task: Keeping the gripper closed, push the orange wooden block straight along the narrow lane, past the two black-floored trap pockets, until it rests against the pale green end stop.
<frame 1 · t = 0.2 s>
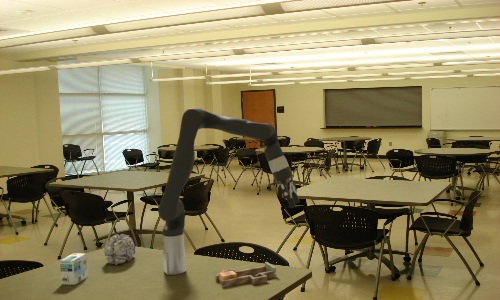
hand: (295, 205, 191), 31 cm above the table, tool tilted 20°, fingers open, 8 cm apart
block: (228, 282, 194), resting in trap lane
light bulb box: (75, 281, 205), on the table
educational model: (121, 262, 229), on the table
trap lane: (245, 278, 197), on the table
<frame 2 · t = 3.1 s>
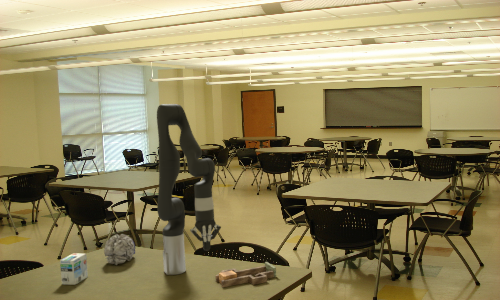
hand: (206, 250, 189), 15 cm above the table, tool pointing down, fingers closed
nothing on the table moved.
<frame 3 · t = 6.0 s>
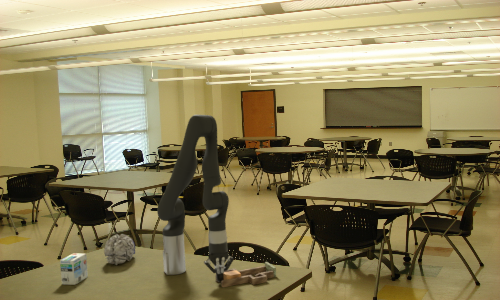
hand: (220, 281, 192), 1 cm above the table, tool pointing down, fingers closed
block: (232, 282, 194), resting in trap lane
everything else where it was.
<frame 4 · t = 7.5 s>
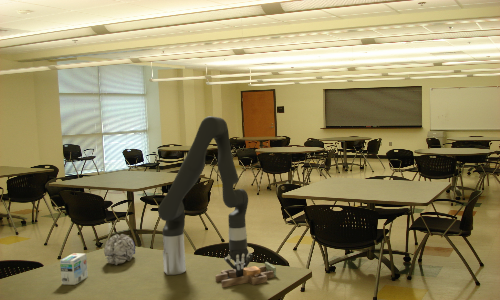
hand: (239, 277, 195), 1 cm above the table, tool pointing down, fingers closed
block: (251, 278, 197), resting in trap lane, touching gripper
everything else where it was.
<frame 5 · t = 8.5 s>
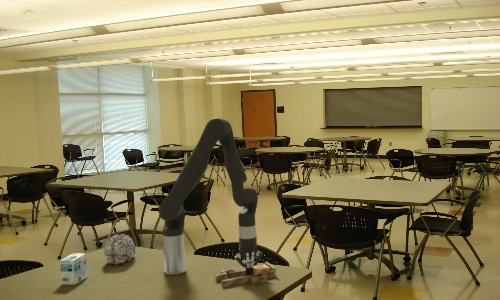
hand: (249, 275, 197), 1 cm above the table, tool pointing down, fingers closed
block: (261, 276, 199), resting in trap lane, touching gripper
everything else where it was.
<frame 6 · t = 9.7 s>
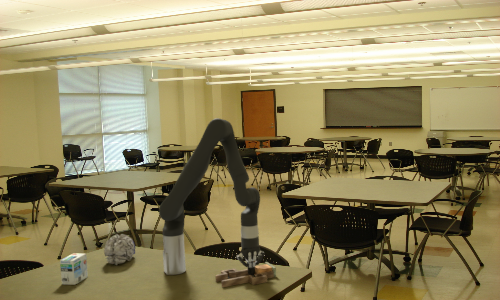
hand: (251, 275, 198), 1 cm above the table, tool pointing down, fingers closed
block: (263, 276, 199), resting in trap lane
everything else where it was.
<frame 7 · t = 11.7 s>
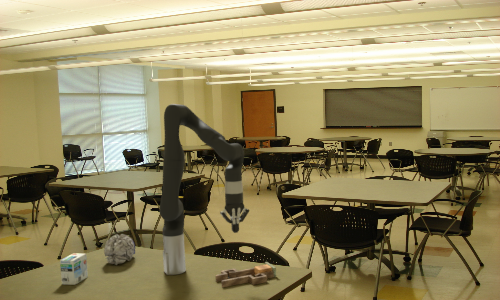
hand: (235, 232, 195), 20 cm above the table, tool pointing down, fingers closed
block: (263, 276, 199), resting in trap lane
everything else where it was.
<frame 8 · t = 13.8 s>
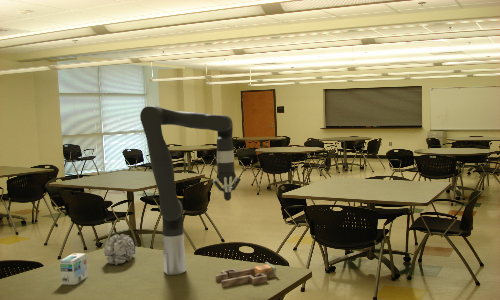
hand: (227, 200, 204), 32 cm above the table, tool pointing down, fingers closed
nothing on the table moved.
at the end: block 0.5 cm from the target spot, resting in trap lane; block tilted 0° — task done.
